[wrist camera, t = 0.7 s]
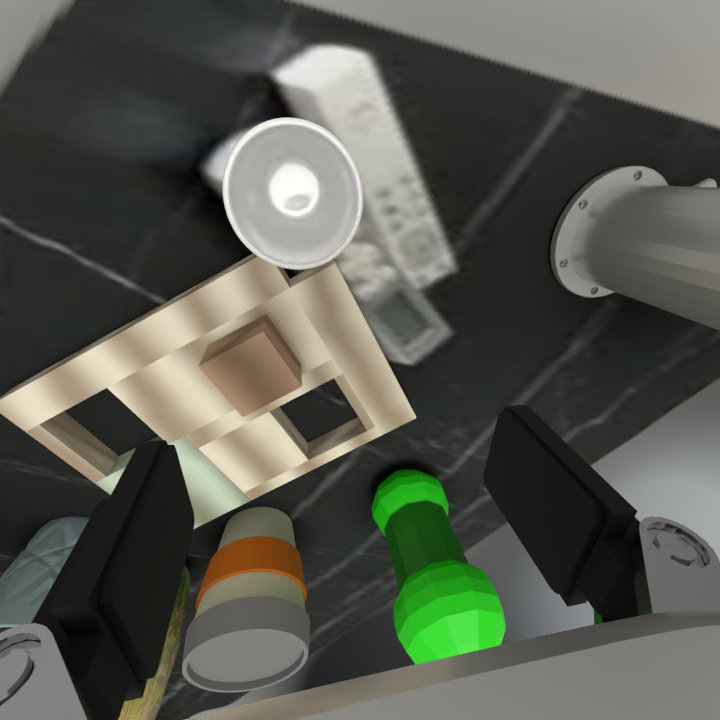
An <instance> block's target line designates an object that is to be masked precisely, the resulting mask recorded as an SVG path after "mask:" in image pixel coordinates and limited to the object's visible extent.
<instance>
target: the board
mask: <svg viewBox="0 0 720 720" xmlns="http://www.w3.org/2000/svg"><path fill="white" fill-rule="evenodd" d="M265 314H267V316H268V317H269V319H270V320H271V321H272V323H273V324H274V326H275V327H276V329H277V330H278V332H279V333H280V335H281V336H282V338H283V339H284V341H285V342H286V343H287V345H288V346H289V348H290V349H291V351H292V352H293V354H294V355H295V357H296V358H297V360H298V361H299V362H300V364H301V373H302V387H300V388H298V389H296V390H295V391H293V392H291V393H289V394H287V395H285V396H283V397H281V398H279V399H277V400H275V401H273V402H271V403H270V404H268V405H266V406H264V407H262V408H260V409H258V410H256V411H254V412H252V413H250V414H248V415H246V416H245V417H242V416H241V415H240V414H239V413H238V411H237V410H236V409H235V408H234V407H233V406H232V405H231V403H230V402H229V401H228V400H227V399H226V398H225V397H224V395H223V394H222V393H221V392H220V391H219V390H218V389H217V387H216V386H215V385H214V384H213V383H212V382H211V381H210V379H209V378H208V377H207V376H206V375H205V374H204V373H203V371H202V370H201V369H200V368H199V367H198V366H199V364H200V361H201V359H202V357H203V355H204V353H205V351H206V349H207V347H208V345H210V344H211V343H213V342H215V341H217V340H219V339H221V338H222V337H224V336H226V335H228V334H230V333H232V332H234V331H235V330H237V329H239V328H241V327H243V326H245V325H246V324H248V323H250V322H252V321H254V320H256V319H258V318H259V317H261V316H263V315H265ZM333 378H334V379H335V381H336V382H337V384H338V385H339V387H340V389H341V390H342V392H343V393H344V395H345V396H346V398H347V399H348V401H349V403H350V404H351V406H352V407H353V409H354V410H355V412H356V414H357V415H358V417H357V418H355V419H353V420H351V421H349V422H347V423H345V424H344V425H342V426H340V427H338V428H336V429H334V430H332V431H330V432H328V433H326V434H324V435H322V436H320V437H318V438H316V439H314V440H312V441H310V442H308V443H307V441H306V440H305V439H304V437H303V436H302V435H301V434H300V432H299V431H298V430H297V428H296V427H295V426H294V425H293V423H292V422H291V421H290V420H289V418H288V417H287V416H286V414H285V413H284V412H283V411H282V409H281V408H280V407H279V406H281V405H283V404H285V403H287V402H289V401H291V400H292V399H294V398H296V397H298V396H300V395H302V394H304V393H306V392H308V391H310V390H312V389H314V388H316V387H318V386H320V385H321V384H323V383H325V382H327V381H329V380H331V379H333ZM105 388H108V389H109V390H110V391H111V392H112V393H113V394H114V395H115V396H116V397H118V398H119V399H120V400H121V401H122V402H123V403H124V404H125V405H126V406H127V407H128V408H129V409H131V410H132V411H133V412H134V413H135V414H136V415H137V416H138V417H139V418H140V419H141V420H142V421H143V422H145V423H146V424H147V425H148V426H149V427H150V428H151V429H152V430H153V431H154V432H155V433H156V434H158V435H159V436H157V437H155V438H153V439H151V440H149V441H156V440H166V441H167V443H168V445H174V446H175V448H176V451H177V454H178V458H179V461H180V465H181V469H182V472H183V476H184V479H185V483H186V486H187V490H188V494H189V497H190V501H191V504H192V508H193V511H194V517H195V523H194V529H195V528H197V527H199V526H201V525H203V524H205V523H207V522H209V521H211V520H213V519H215V518H217V517H219V516H221V515H223V514H225V513H227V512H229V511H231V510H233V509H235V508H237V507H239V506H241V505H243V504H245V503H247V502H249V501H251V500H253V499H255V498H257V497H259V496H261V495H263V494H265V493H267V492H269V491H271V490H273V489H275V488H277V487H279V486H281V485H283V484H285V483H287V482H289V481H291V480H293V479H295V478H297V477H299V476H301V475H303V474H305V473H307V472H309V471H311V470H313V469H315V468H317V467H319V466H321V465H323V464H325V463H327V462H329V461H331V460H333V459H335V458H337V457H339V456H341V455H343V454H345V453H347V452H349V451H351V450H353V449H355V448H357V447H359V446H361V445H363V444H365V443H367V442H369V441H371V440H373V439H375V438H377V437H379V436H381V435H383V434H385V433H387V432H389V431H391V430H393V429H395V428H397V427H399V426H401V425H403V424H405V423H407V422H409V421H411V420H413V419H415V418H416V416H415V414H414V412H413V410H412V408H411V406H410V404H409V402H408V400H407V398H406V396H405V394H404V392H403V391H402V389H401V387H400V385H399V383H398V381H397V379H396V377H395V375H394V373H393V371H392V370H391V368H390V366H389V364H388V362H387V360H386V358H385V356H384V354H383V352H382V350H381V349H380V347H379V345H378V343H377V341H376V339H375V337H374V335H373V333H372V331H371V329H370V328H369V326H368V324H367V322H366V320H365V318H364V316H363V314H362V312H361V310H360V308H359V307H358V305H357V303H356V301H355V299H354V297H353V295H352V293H351V291H350V289H349V287H348V285H347V284H346V282H345V280H344V278H343V276H342V274H341V272H340V270H339V268H338V266H337V264H336V263H335V261H334V259H332V260H331V261H329V262H327V263H325V264H323V265H321V266H318V267H314V268H310V269H307V270H305V271H304V272H302V273H300V274H298V275H296V276H294V277H293V278H291V279H290V278H289V277H288V275H287V273H286V272H285V270H284V268H282V267H278V266H275V265H273V264H270V263H268V262H266V261H264V260H263V259H261V258H260V257H258V256H257V255H255V254H254V253H253V254H252V255H250V256H248V257H246V258H245V259H243V260H241V261H239V262H237V263H236V264H234V265H232V266H230V267H228V268H227V269H225V270H223V271H221V272H219V273H218V274H216V275H214V276H212V277H210V278H209V279H207V280H205V281H203V282H201V283H200V284H198V285H196V286H194V287H192V288H191V289H189V290H187V291H185V292H183V293H182V294H180V295H178V296H176V297H175V298H173V299H171V300H169V301H167V302H166V303H164V304H162V305H160V306H158V307H157V308H155V309H153V310H151V311H149V312H148V313H146V314H144V315H142V316H140V317H139V318H137V319H135V320H133V321H131V322H130V323H128V324H126V325H124V326H122V327H121V328H119V329H117V330H115V331H114V332H112V333H110V334H108V335H106V336H105V337H103V338H101V339H99V340H97V341H96V342H94V343H92V344H90V345H88V346H87V347H85V348H83V349H81V350H79V351H78V352H76V353H74V354H72V355H70V356H69V357H67V358H65V359H63V360H61V361H60V362H58V363H56V364H54V365H52V366H51V367H49V368H47V369H45V370H44V371H42V372H40V373H38V374H36V375H35V376H33V377H31V378H29V379H27V380H26V381H24V382H22V383H20V384H18V385H17V386H15V387H13V388H12V389H11V390H9V391H8V392H7V393H5V394H4V395H3V396H1V397H0V413H1V414H2V415H3V416H5V417H6V418H7V419H9V420H10V421H12V422H13V423H14V424H16V425H17V426H18V427H20V428H21V429H22V430H24V431H25V432H26V433H28V434H29V435H30V436H32V437H33V438H34V439H36V440H37V441H39V442H40V443H41V444H43V445H44V446H45V447H47V448H48V449H49V450H51V451H52V452H53V453H55V454H56V455H57V456H59V457H60V458H62V459H63V460H64V461H66V462H67V463H68V464H70V465H71V466H72V467H74V468H75V469H76V470H78V471H79V472H80V473H82V474H83V475H84V476H86V477H87V478H89V479H90V480H91V481H93V482H94V483H95V484H97V485H98V486H99V487H101V488H102V489H103V490H105V491H106V492H107V493H109V494H110V495H111V494H112V492H113V490H114V488H115V486H116V484H117V483H118V481H119V479H120V477H121V475H122V473H123V471H124V470H125V468H126V466H127V464H128V462H129V460H130V458H131V456H132V455H133V453H134V451H135V449H136V448H134V449H132V450H130V451H128V452H126V453H125V454H123V455H121V456H118V455H117V454H116V453H114V452H113V451H112V450H111V449H110V448H108V447H107V446H106V445H105V444H103V443H102V442H101V441H100V440H99V439H97V438H96V437H95V436H94V435H92V434H91V433H90V432H89V431H88V430H86V429H85V428H84V427H83V426H82V425H80V424H79V423H78V422H77V421H75V420H74V419H73V418H72V417H71V416H69V415H68V414H67V413H66V412H64V411H65V410H67V409H68V408H70V407H72V406H74V405H76V404H78V403H80V402H81V401H83V400H85V399H87V398H89V397H91V396H92V395H94V394H96V393H98V392H100V391H102V390H103V389H105Z"/></svg>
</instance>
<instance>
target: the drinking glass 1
mask: <svg viewBox="0 0 720 720" xmlns="http://www.w3.org/2000/svg"><path fill="white" fill-rule="evenodd" d="M89 519H90V518H88V517H81V516H68V517H62V518H58V519H54V520H52V521H50V522H48V523H46V524H45V525H44V526H43V527H42V528H40V530H39V531H38V532H37V533H36V534H35V536H34V537H33V538H32V539H31V541H30V542H29V543H28V545H27V547H26V549H25V550H24V551H23V552H21V553H20V554H19V555H18V557H17V558H16V559H15V560H14V561H13V563H12V564H11V565H10V567H9V568H8V569H7V570H6V571H5V572H4V574H3V575H2V576H1V578H0V633H2V632H3V631H5V630H8V629H10V628H13V627H16V626H19V625H22V624H31V622H32V621H33V619H34V617H35V615H36V613H37V612H38V610H39V608H40V606H41V605H42V603H43V601H44V599H45V597H46V596H47V594H48V592H49V590H50V589H51V587H52V585H53V583H54V581H55V580H56V578H57V576H58V574H59V572H60V571H61V569H62V567H63V565H64V564H65V562H66V560H67V558H68V556H69V555H70V553H71V551H72V549H73V548H74V546H75V544H76V542H77V540H78V539H79V537H80V535H81V533H82V531H83V530H84V528H85V526H86V524H87V523H88V521H89Z"/></svg>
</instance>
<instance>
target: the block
mask: <svg viewBox="0 0 720 720" xmlns="http://www.w3.org/2000/svg"><path fill="white" fill-rule="evenodd" d="M198 367H199V368H200V369H201V370H202V371H203V373H204V374H205V375H206V376H207V377H208V378H209V379H210V381H211V382H212V383H213V384H214V385H215V386H216V387H217V389H218V390H219V391H220V392H221V393H222V394H223V395H224V397H225V398H226V399H227V400H228V401H229V402H230V403H231V405H232V406H233V407H234V408H235V409H236V410H237V411H238V413H239V414H240V415H241V416H242V417H245V416H246V415H248V414H250V413H252V412H254V411H256V410H258V409H260V408H262V407H264V406H266V405H268V404H270V403H271V402H273V401H275V400H277V399H279V398H281V397H283V396H285V395H287V394H289V393H291V392H293V391H295V390H296V389H298V388H300V387H302V373H301V364H300V362H299V361H298V360H297V358H296V357H295V355H294V354H293V352H292V351H291V349H290V348H289V346H288V345H287V343H286V342H285V341H284V339H283V338H282V336H281V335H280V333H279V332H278V330H277V329H276V327H275V326H274V324H273V323H272V321H271V320H270V319H269V317H268V316H267V314H265V315H263V316H261V317H259V318H258V319H256V320H254V321H252V322H250V323H248V324H246V325H245V326H243V327H241V328H239V329H237V330H235V331H234V332H232V333H230V334H228V335H226V336H224V337H222V338H221V339H219V340H217V341H215V342H213V343H211V344H210V345H208V347H207V349H206V351H205V353H204V355H203V357H202V359H201V361H200V364H199V366H198Z"/></svg>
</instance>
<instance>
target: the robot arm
mask: <svg viewBox="0 0 720 720" xmlns="http://www.w3.org/2000/svg"><path fill="white" fill-rule="evenodd" d="M716 187H717V185H716V182H715V181H714V180H713V179H710V178H709V179H705V180H703V181H701V182H699V183H697V184H696V185H694V186H692V187H686V186H669V185H668V183H667V182H666V180H665V179H664V178H663V176H662V175H661V174H659V173H658V172H656V171H655V170H653V169H650V168H647V167H644V166H624V167H618V168H614V169H611V170H608V171H606V172H604V173H602V174H600V175H598V176H597V177H595V178H594V179H592V180H591V181H590V182H588V183H587V184H586V185H584V186H583V187H582V188H581V189H580V190H579V191H578V192H577V193H576V194H575V195H574V197H573V198H572V199H571V201H570V202H569V203H568V205H567V206H566V207H565V209H564V211H563V213H562V214H561V216H560V218H559V220H558V222H557V225H556V228H555V230H554V233H553V237H552V242H551V249H550V260H551V267H552V270H553V273H554V276H555V278H556V279H557V280H558V282H559V283H560V285H562V286H563V287H564V288H565V289H566V290H568V291H570V292H572V293H574V294H577V295H580V296H583V297H591V298H593V297H601V296H605V295H608V294H612V293H614V292H617V293H620V294H622V295H625V296H628V297H630V298H633V299H636V300H638V301H641V302H644V303H647V304H649V305H652V306H655V307H657V308H660V309H663V310H665V311H668V312H671V313H674V314H676V315H679V316H682V317H684V318H687V319H690V320H693V321H695V322H698V323H701V324H703V325H706V326H709V327H711V328H714V329H717V330H720V188H716ZM483 480H484V484H485V486H486V488H487V490H488V491H489V493H490V494H491V496H492V497H493V499H494V501H495V502H496V504H497V505H498V507H499V508H500V510H501V511H502V513H503V515H504V516H505V518H506V519H507V521H508V522H509V524H510V525H511V527H512V528H513V530H514V532H515V533H516V535H517V536H518V538H519V539H520V541H521V543H522V544H523V546H524V547H525V549H526V550H527V552H528V553H529V555H530V557H531V558H532V559H533V561H534V563H535V564H536V566H537V567H538V569H539V570H540V572H541V574H542V575H543V577H544V578H545V580H546V581H547V583H548V584H549V586H550V588H551V589H552V590H553V591H554V592H555V593H557V594H560V596H561V597H562V599H563V600H564V602H565V603H566V605H567V606H572V605H577V604H582V603H586V601H587V600H588V601H589V603H590V604H591V606H592V607H593V609H594V625H590V626H586V627H581V628H577V629H572V630H568V631H563V632H559V633H554V634H550V635H545V636H541V637H536V638H532V639H527V640H523V641H518V642H514V643H509V644H505V645H500V646H496V647H491V648H487V649H482V650H478V651H474V652H469V653H465V654H460V655H456V656H452V657H447V658H443V659H438V660H434V661H429V662H425V663H421V664H416V665H412V666H408V667H403V668H399V669H394V670H390V671H386V672H381V673H377V674H373V675H369V676H364V677H360V678H355V679H351V680H347V681H342V682H339V683H334V684H330V685H325V686H321V687H317V688H313V689H308V690H304V691H300V692H296V693H291V694H287V695H283V696H278V697H274V698H270V699H265V700H261V701H257V702H253V703H248V704H244V705H241V706H237V707H232V708H228V709H224V710H220V711H216V712H213V713H209V714H205V715H201V716H197V717H193V718H189V719H185V720H720V562H719V559H718V557H717V555H716V553H715V552H714V550H713V549H712V548H711V547H710V545H709V544H708V543H707V542H706V541H705V540H704V539H702V538H701V537H700V536H699V535H698V534H696V533H695V532H693V531H692V530H690V529H688V528H687V527H685V526H684V525H681V524H679V523H677V522H675V521H672V520H669V519H665V518H662V517H648V518H644V519H643V520H642V521H641V522H639V521H638V520H637V519H636V518H635V517H634V516H635V514H636V513H637V511H636V510H635V509H634V508H633V507H632V506H631V505H630V504H629V503H628V502H627V501H626V500H625V499H624V498H623V497H622V496H621V495H620V494H619V493H618V492H617V491H616V490H614V489H613V488H612V487H611V486H610V485H609V484H608V483H607V482H606V481H605V480H604V479H603V478H602V477H601V476H600V475H599V474H598V473H597V472H596V471H595V470H594V469H592V467H591V466H589V465H588V464H587V463H586V462H585V461H584V460H583V459H582V458H581V457H580V456H579V455H578V454H577V453H576V452H575V451H574V450H573V449H572V448H571V447H570V446H569V445H568V444H567V443H565V442H564V441H563V440H562V439H561V438H560V437H559V436H558V435H557V434H556V433H555V432H554V431H553V430H552V429H551V428H550V427H549V426H548V425H547V424H546V423H545V422H544V421H542V420H541V419H540V418H539V417H538V416H537V415H536V414H535V413H534V412H533V411H532V410H531V409H530V408H529V407H528V406H526V405H517V406H507V407H505V408H504V410H503V412H500V413H499V416H498V419H497V423H496V427H495V431H494V435H493V439H492V443H491V447H490V451H489V455H488V459H487V463H486V467H485V471H484V475H483ZM194 523H195V517H194V511H193V508H192V504H191V501H190V497H189V494H188V490H187V486H186V483H185V479H184V476H183V472H182V469H181V465H180V461H179V458H178V454H177V451H176V448H175V446H174V445H168V443H167V441H166V440H156V441H146V442H140V443H139V444H138V445H137V447H136V449H135V451H134V453H133V455H132V456H131V458H130V460H129V462H128V464H127V466H126V468H125V470H124V471H123V473H122V475H121V477H120V479H119V481H118V483H117V484H116V486H115V488H114V490H113V492H112V494H111V496H110V497H109V499H104V500H102V501H101V502H100V503H99V504H98V506H97V507H96V508H95V510H94V512H93V514H92V515H91V517H90V519H89V521H88V523H87V524H86V526H85V528H84V530H83V531H82V533H81V535H80V537H79V539H78V540H77V542H76V544H75V546H74V548H73V549H72V551H71V553H70V555H69V556H68V558H67V560H66V562H65V564H64V565H63V567H62V569H61V571H60V572H59V574H58V576H57V578H56V580H55V581H54V583H53V585H52V587H51V589H50V590H49V592H48V594H47V596H46V597H45V599H44V601H43V603H42V605H41V606H40V608H39V610H38V612H37V613H36V615H35V617H34V619H33V621H32V622H31V624H22V625H19V626H16V627H13V628H10V629H8V630H5V631H3V632H2V633H0V720H118V719H119V717H120V714H121V710H122V707H123V704H124V702H125V701H130V700H134V699H139V698H143V694H144V691H145V687H146V683H147V680H148V679H151V678H154V677H155V675H156V673H157V671H158V668H159V664H160V660H161V656H162V652H163V648H164V644H165V640H166V636H167V632H168V628H169V624H170V621H171V617H172V613H173V609H174V605H175V601H176V597H177V593H178V589H179V585H180V581H181V577H182V573H183V569H184V565H185V561H186V557H187V553H188V549H189V545H190V541H191V537H192V533H193V529H194Z"/></svg>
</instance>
